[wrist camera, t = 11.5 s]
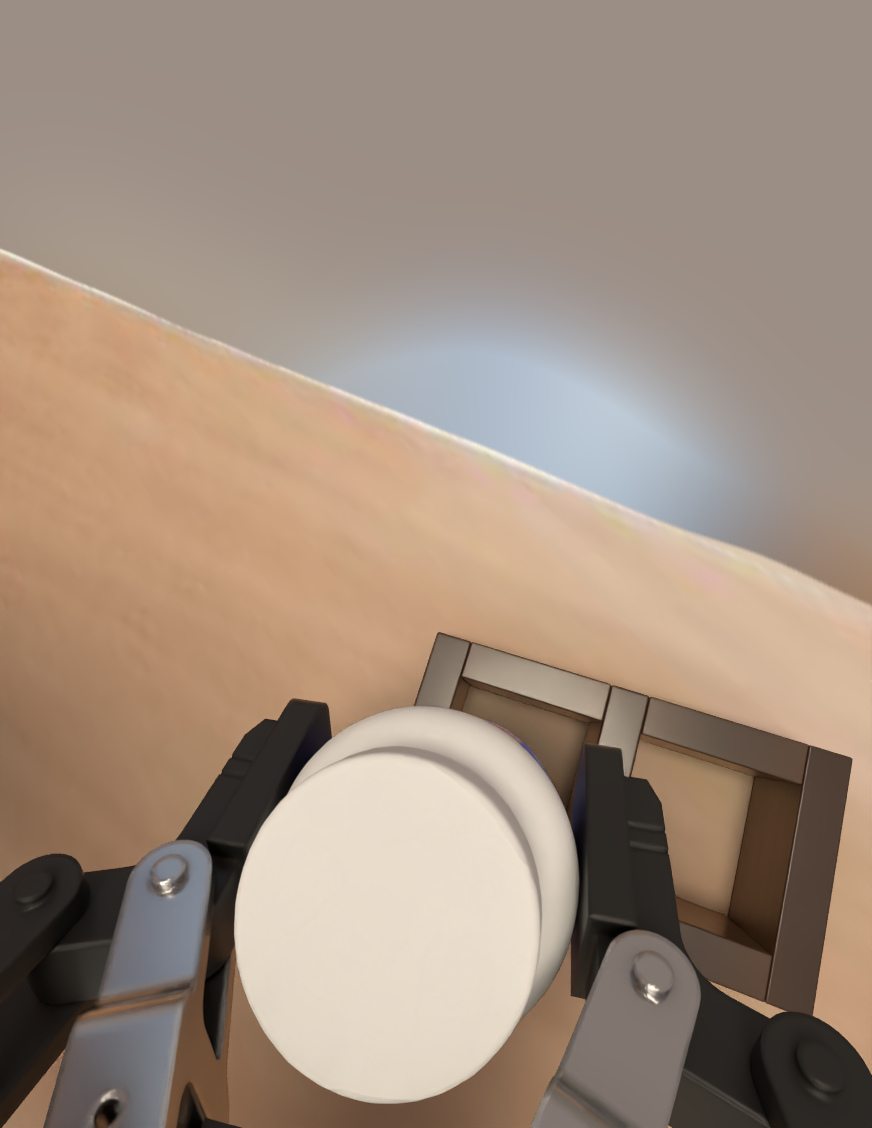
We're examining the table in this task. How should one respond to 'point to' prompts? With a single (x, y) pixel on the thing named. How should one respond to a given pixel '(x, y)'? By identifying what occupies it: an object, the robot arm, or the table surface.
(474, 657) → the rack
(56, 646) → the table surface
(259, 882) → the pill bottle
